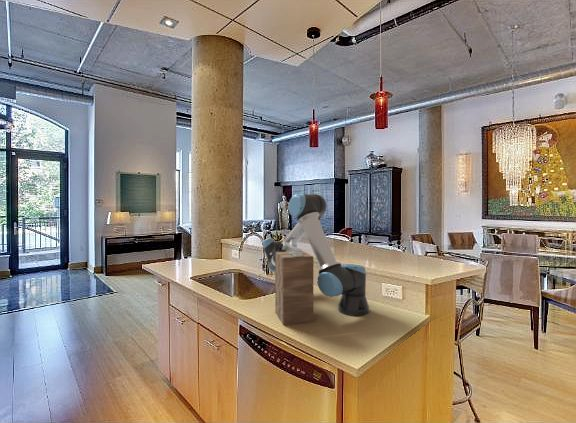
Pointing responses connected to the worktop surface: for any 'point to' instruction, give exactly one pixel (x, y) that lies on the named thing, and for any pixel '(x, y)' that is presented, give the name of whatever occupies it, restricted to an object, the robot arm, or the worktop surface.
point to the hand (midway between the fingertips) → (288, 242)
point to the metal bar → (293, 250)
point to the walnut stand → (294, 288)
